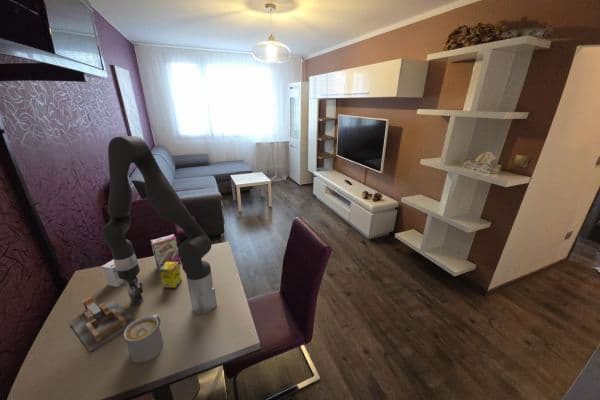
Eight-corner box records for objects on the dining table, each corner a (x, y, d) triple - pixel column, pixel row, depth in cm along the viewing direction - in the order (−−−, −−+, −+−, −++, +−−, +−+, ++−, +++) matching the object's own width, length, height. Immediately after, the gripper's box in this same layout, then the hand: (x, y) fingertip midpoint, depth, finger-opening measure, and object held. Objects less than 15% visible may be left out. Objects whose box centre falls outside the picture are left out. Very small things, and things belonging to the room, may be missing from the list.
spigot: (145, 300, 108) (139, 279, 104) (134, 307, 105) (127, 285, 100) (140, 296, 110) (134, 275, 106) (129, 302, 107) (123, 281, 103)
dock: (136, 322, 97) (134, 314, 96) (90, 352, 86) (86, 342, 84) (114, 301, 108) (111, 293, 106) (70, 324, 96) (66, 316, 94)
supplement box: (176, 288, 115) (172, 269, 111) (163, 288, 115) (159, 269, 111) (182, 280, 121) (178, 261, 117) (170, 280, 121) (166, 261, 117)
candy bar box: (158, 272, 127) (151, 244, 121) (156, 267, 130) (149, 240, 124) (181, 263, 133) (176, 237, 127) (178, 259, 137) (173, 233, 131)
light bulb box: (126, 271, 127) (121, 253, 123) (137, 273, 125) (132, 255, 121) (106, 285, 117) (100, 266, 113) (118, 287, 116) (111, 268, 112)
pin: (104, 315, 99) (101, 307, 98) (94, 320, 97) (91, 312, 95) (94, 303, 105) (91, 296, 103) (84, 308, 102) (81, 300, 101)
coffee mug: (148, 365, 81) (141, 343, 78) (123, 358, 83) (116, 337, 80) (176, 331, 93) (171, 311, 90) (154, 326, 96) (148, 306, 92)
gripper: (145, 266, 100) (153, 299, 106) (128, 254, 107) (137, 286, 113) (124, 275, 94) (134, 310, 100) (108, 263, 101) (119, 296, 107)
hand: (136, 297), depth 107 cm, fingers closed on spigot, 4 cm apart
